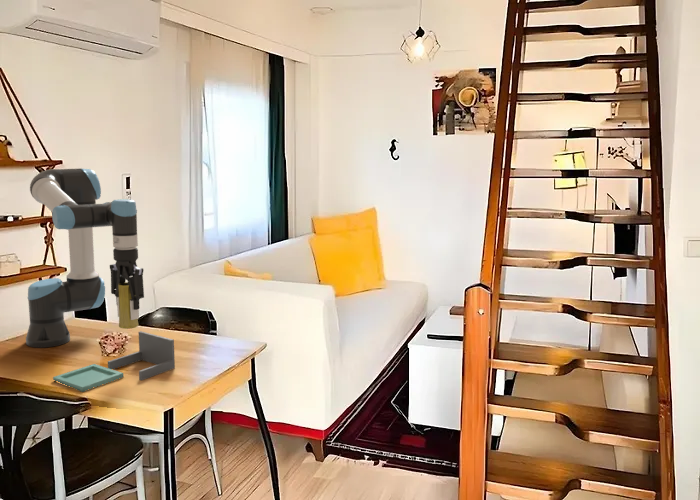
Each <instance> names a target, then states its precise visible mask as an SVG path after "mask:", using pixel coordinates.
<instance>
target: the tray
mask: <svg viewBox="0 0 700 500" xmlns="http://www.w3.org/2000/svg"><path fill="white" fill-rule="evenodd" d="M122 377H123V378H124V372H121V371H118V370H116V369H113V370H112V369H109V368H108V367H105V366H103V365H99V364H96V363H92V364H89V365H87V366H84V367H83V366H82V367H80V368H78V369H74V370H71V371H68V372H65V373H62V374H58V375H56V376H55V375H54V376H53V377H52V379H53V380H55V381H58V382H60V383H62V384H65V385H67V386H70V387H73V388H75V389H74V390H76V389H77V390H76V391H78V392H82V393H83V392H87V391H89V390H88V389H90V390H92V389H94V388H93V387H95V388H98V387H101V386H103V385H102V384H104V385H106V383H107V384H109V383H112V382H115V381H117V380H116V379H118V380H120V379H119V378H121V379H123V378H122ZM53 380H52V381H53ZM114 380H115V381H114ZM111 381H112V382H111ZM108 382H109V383H108ZM62 384H61V385H62ZM65 385H64V386H65ZM100 385H101V386H100ZM67 386H66V387H67ZM97 386H98V387H97ZM70 387H69V388H70ZM73 388H72V389H73ZM91 388H92V389H91ZM86 390H87V391H86Z"/></svg>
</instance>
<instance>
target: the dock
mask: <svg viewBox="0 0 700 500" xmlns="http://www.w3.org/2000/svg"><path fill="white" fill-rule="evenodd" d="M140 361H144V362H147V363H150V364H155V365H150V366H149V367H146V368H143V369H141V370H138V379H139V381H144V380H147V379H150V378H152V377H155V376H158V375H160V374H163V373H166V372H168V371H171V370H173V369H175V367H176V365H175V361H176V360H175V340H174V339H172V338H168V337H165V336H161V335H157V334H153V333H149V332H145V331H141V330H140V331H138V351H136V352H132V353H129V354H126V355H124V356H120V357H117V358H114V359H111V360H108V361H107V368H109V369H113V370H116V369H119V368H122V367H125V366H127V365H131V364H133V363H137V362H140ZM121 366H122V367H121ZM118 367H119V368H118ZM115 368H116V369H115Z"/></svg>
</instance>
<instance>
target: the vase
mask: <svg viewBox="0 0 700 500" xmlns="http://www.w3.org/2000/svg"><path fill="white" fill-rule="evenodd" d="M118 288H119V317H118V327H119V328H120V329H127V330H128V329H134V328H137V327H139V321H138V320H139V318H138V319H134V320H131V312H130V299H132V297H131V293H130V289H129V285H128V281H125V283H124V284H122V285H121V283H120V284H119V285H118Z"/></svg>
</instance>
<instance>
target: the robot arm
mask: <svg viewBox="0 0 700 500" xmlns="http://www.w3.org/2000/svg"><path fill="white" fill-rule="evenodd" d="M29 192H30V194H31V196H32V198H33V199H34V200H35V201H36V202H37V203H40V204H42V205H44V206H46V209H48V210H49V211H50V212H51V213H52V214H51V215H52V222H53V225H54V228H55V229H57V230H68V232H67V233H68V248H69V252H68V253H69V266H70V267H69V268H70V269H69V270H70V272H68V274H67V275H66V281H63V280H62V279H61V278H57V277H55V278H54V277H53V278H46V279H41V280H37V281H35V282H33V283H32V284H30V285H29V286H28V287H27V288H28V289H27V300H28V313H29V314H28V315H29V325H28V329H27V333H26V336H25V344H26V346H28V347H30V348H40V349H41V348H52V347H57V346H61V345H64V344H67V343H69V342H70V341H71V335H70V334H71V333H70V330H69V329H68V326H67V324H66V322H65V317H64V315H65V313H70V312H77V311H83V310H91V309H96V308H99V307H101V305H102V304H103V302H104V300H105V296H106V286H105V281H104V280H105V279H103V278H102V277H100V274H99V273H98V272H97V271H96V270H95V253H94V252H95V250H94V233H93V232H94V230H93V228H102V227H103V228H104V227H111V229H112V231H111V232H112V247H113V249H112V251H113V253H112V254H113V260H114V261H115V263H112V264H109V269H110V293H111V295H114V297H115V300H116V301H115V302H116V306H117V318H119V288H118V285H119V284H120V283H121V285H122V284H124V283H125V282H128V285H129V289H130V293H131V297H132V299H130V312H131V320H134V319H138V320H139V319H140V299H143V298H145V291H144V278H143V275H144V268H143V267H141V268H140V267H138V264H137V260H139V249H138V246H139V243H138V242H139V241H138V224H137V223H138V222H137V221H138V219H137V218H138V217H137V213H138V210H137V204H136V201H135V200H133V199H128V198H121V199H113V200H112V201H109V202H108V201H106V202H103V203H96V201H97V200H99V199H100V198H101V195H102V187H101V183H100V179H99V177H98V175H97V173H96V172H95V171H94V170H93V169H91V168H82V167H81V168H63V169H62V168H60V169H56V168H53V169H46V170H43V171H41V172H39V173H38V174H36V175H35V176H34V177H33V178H32V180H31V182H30V184H29Z"/></svg>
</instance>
